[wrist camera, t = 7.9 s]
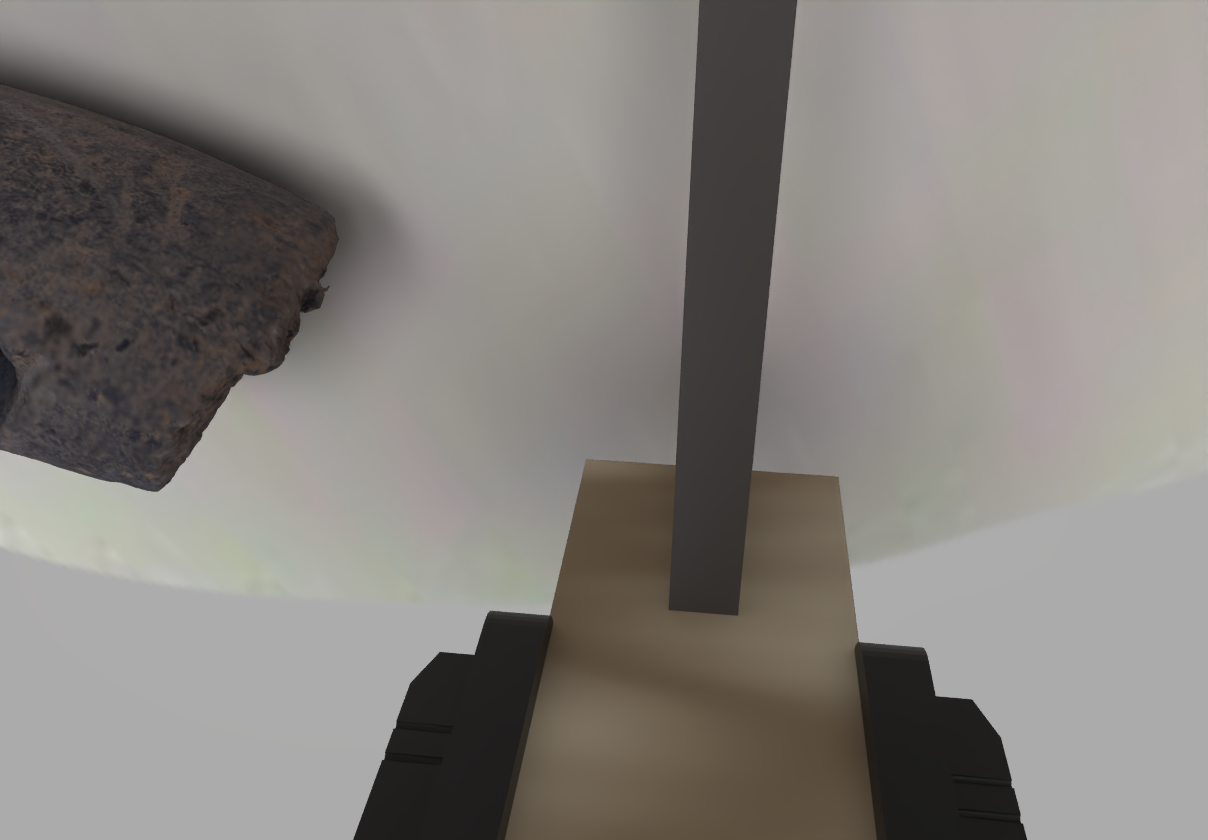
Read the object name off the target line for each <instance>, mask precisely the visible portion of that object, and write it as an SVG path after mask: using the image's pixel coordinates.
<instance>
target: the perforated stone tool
mask: <svg viewBox="0 0 1208 840" xmlns="http://www.w3.org/2000/svg"><path fill="white" fill-rule="evenodd" d="M338 240H339V239H338V236H337V233H336V226H335V218H334V217H333V216H332V215H330V214H329V213H328V212H327V211H324V210H322V209H321V208H320V207H318V206H316V205H313V204H311V203H309V202H307V201H305V200H303V199H301V198H299V197H298V196H296V195H294V194H292V193H290V192H288V191H287V190H285V189H283V188H281V187H278V186H276V185H274V184H272V183H270V182H267V181H265V180H263V179H261V178H259V177H256V176H254V175H252V174H249V173H247V172H245V171H243V170H241V169H239V168H236V167H234V166H232V165H230V164H228V163H225V162H223V161H221V160H219V159H216V158H214V157H212V156H210V155H207V154H205V153H203V152H200V151H198V150H196V149H193V148H191V147H189V146H187V145H184V144H182V143H179V142H177V141H174V140H172V139H169V138H167V137H164V136H161V135H159V134H156V133H153V132H150V131H148V130H145V129H143V128H140V127H137V126H133V125H130V124H128V123H124V122H122V121H119V120H116V119H113V118H110V117H108V116H105V115H102V114H98V113H96V112H92V111H89V110H86V109H83V108H80V107H77V106H73V105H70V104H66V103H64V102H61V101H57V100H54V99H50V98H47V97H44V96H40V95H37V94H34V93H30V92H27V91H23V90H20V89H16V88H12V87H9V86H5V85H1V84H0V450H4V451H7V452H10V453H13V454H17V455H21V456H25V457H28V458H31V459H36V460H39V461H42V462H45V463H48V464H51V465H53V466H56V467H59V468H63V469H66V470H69V471H73V472H76V473H79V474H82V475H86V476H90V477H93V478H97V479H100V480H105V481H109V482H120V483H124V484H127V485H130V486H133V487H135V488H140V489H143V490H147V491H153V492H158V491H159V490H161V489H162V488H163V487H164V486H165V485H166V484H168V483H169V482H170V481H171V479H172V477H174V476H175V472H176V471H177V470H178V468H179V466H180V465H181V464H183V463H184V462H185V460H186V458H187V457H188V456H189V455H190V454H191V452H192V450H193V448H194V447H195V446H196V444H197V443H198V442H199V441H200V440H201V437H202V432H203V431H204V430H205V429H206V428H207V427H208V425H209V423H210V422H211V420H212V419H213V418H214V416H215V414H216V412H217V409H218V408H219V407H220V406H221V404H222V403H223V402H224V401H225V399H226V397H227V395H228V394H229V391H230V388H231V387H234V386H235V385H236V383H237V382H238V381H239V380H240V379H242V376H243V374H245V375H252V376H255V375H260V374H265V373H267V372H270V371H272V370H274V369H276V368H278V367H279V366H280V365H281V364H282V363H283V361H284V359H285V355H286V354H287V353H288V352H289V350H290V348H289V346H290V342H291V340H292V339H293V338H294V337H295V336H296V335H297V333H298V332H299V327H300V315H299V313H300V312H304V313H307V312H310V311H312V310H314V309H318V308H320V307H321V304H322V301H323V299H324V296H325V294H324V291H327V290H328V288H329V286H328V287H327V288H323V287H321V285H320V283H319V279H321V278H322V277H323V276H324V274H325V273H326V270H327V265H328V263H329V261H330V260H331V259H332V257H333V255H334V253H335V250H336V245H337V242H338Z"/></svg>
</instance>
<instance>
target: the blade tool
mask: <svg viewBox="0 0 1208 840" xmlns="http://www.w3.org/2000/svg"><path fill="white" fill-rule="evenodd" d="M796 6H797V0H700V4H699V23H698V43H697V62H696V82H695V102H694V121H693V141H692V160H691V180H690V200H689V219H688V239H687V258H686V278H685V298H684V317H683V337H682V356H681V376H680V396H679V415H678V435H677V454H676V465H662V464H647V463H633V462H619V461H604V460H590V459H586V462H585V466H584V471H583V475H582V479H581V484H580V488H579V492H578V497H577V501H576V505H575V510H574V514H573V518H572V523H571V527H570V531H569V535H568V540H567V544H566V548H565V553H564V557H563V561H562V566H561V570H560V574H559V579H558V583H557V587H556V592H555V596H554V600H553V605H552V609H551V614H550V616H552V618H553V627H552V631H551V636H550V640H549V645H548V649H547V654H546V658H545V663H544V667H543V672H542V676H541V680H540V685H539V689H538V694H537V698H536V703H535V707H534V712H533V716H532V720H531V725H530V729H529V734H528V738H527V743H526V747H525V752H524V756H523V761H522V765H521V769H520V774H519V778H518V783H517V787H516V792H515V796H514V801H513V805H512V809H511V814H510V818H509V823H508V827H507V832H506V836H505V840H877V836H876V828H875V819H874V811H873V802H872V794H871V785H870V777H869V768H868V760H867V751H866V743H865V735H864V726H863V718H862V709H861V701H860V692H859V684H858V675H857V667H856V658H855V650H854V649H855V646H856V644H857V643H858V642H859V639H858V631H857V623H856V615H855V607H854V600H853V591H852V583H851V575H850V567H849V559H848V551H847V543H846V535H845V527H844V519H843V511H842V503H841V495H840V487H839V479H838V477H834V476H820V475H805V474H791V473H776V472H762V471H752V464H753V454H754V443H755V433H756V422H757V412H758V402H759V391H760V381H761V370H762V360H763V350H764V339H765V329H766V318H767V308H768V298H769V287H770V277H771V266H772V256H773V246H774V235H775V225H776V214H777V204H778V194H779V183H780V173H781V162H782V152H783V141H784V131H785V121H786V110H787V100H788V89H789V79H790V69H791V58H792V48H793V37H794V27H795V17H796Z"/></svg>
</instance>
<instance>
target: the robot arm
mask: <svg viewBox="0 0 1208 840" xmlns="http://www.w3.org/2000/svg"><path fill="white" fill-rule="evenodd" d="M552 627H553V618H552V616H548V615H536V614H524V613H510V612H500V611H490V612H489V613H488V614H487V617H486V619H485V622H484V625H483V629H482V632H481V635H480V638H479V642H478V645H477V649H476V652H475V655H469V654H457V653H446V652H445V653H444V652H439V654H438V655H437V656H436V657H435V658H434V659H433V660H432V661H431V662H430V663H429V664H428V665H427V666H426V668H424V669H423V670H422V671H421V673H420V674H419V675H418V676H417V677H416V678H415V679H414V680H413V681H412V682H411V683H410V686H409V688H408V691H407V694H406V696H405V699H404V702H403V705H402V707H401V710H400V713H399V716H398V719H397V724H396V728H395V729H393V732H392V735H391V738H390V741H389V743H388V746H387V749H386V752H385V759H384V760H382V762H381V765H380V768H379V770H378V773H377V776H376V779H375V781H374V784H373V787H372V790H371V792H370V795H369V798H368V801H367V803H366V806H365V809H364V812H363V814H362V817H361V820H360V822H359V825H358V828H357V831H356V834H355V836H354V839H353V840H505V836H506V832H507V827H508V823H509V818H510V814H511V809H512V805H513V801H514V796H515V792H516V787H517V783H518V778H519V774H520V769H521V765H522V761H523V756H524V752H525V747H526V743H527V738H528V734H529V729H530V725H531V720H532V716H533V712H534V707H535V703H536V698H537V694H538V689H539V685H540V680H541V676H542V672H543V667H544V663H545V658H546V654H547V649H548V645H549V640H550V636H551V631H552ZM854 650H855V658H856V667H857V675H858V684H859V692H860V701H861V709H862V718H863V726H864V735H865V743H866V751H867V760H868V768H869V777H870V785H871V794H872V802H873V811H874V819H875V828H876V836H877V840H1027V838H1026V834H1025V830H1024V826H1023V824H1021V822H1020V810H1019V807H1018V802H1017V799H1016V795H1015V791H1014V788H1012V786H1011V781H1012V779H1011V775H1010V772H1009V767H1008V764H1007V760H1006V756H1005V752H1004V748H1003V744H1002V740H1001V737H1000V736H999V735H998V733H997V732H996V731H995V729H994V728H993V727H992V725H991V724H990V723H989V721H988V720H987V719H986V717H985V716H984V715H983V714H982V712H981V711H980V709H979V708H978V707H977V705H976V704H975V703H974V702H973V700H971V699H961V698H949V697H938V696H935V691H934V686H933V681H932V675H931V671H930V666H929V660H928V656H927V654H926V651H925V649H924V648H921V647H908V646H896V645H885V644H873V643H861V642H858V643H857V644H856V646H855V649H854Z"/></svg>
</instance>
